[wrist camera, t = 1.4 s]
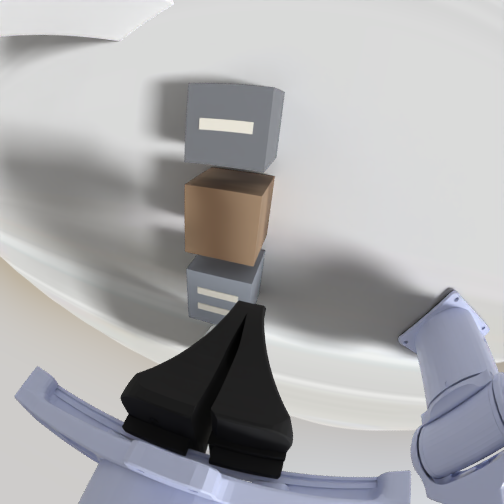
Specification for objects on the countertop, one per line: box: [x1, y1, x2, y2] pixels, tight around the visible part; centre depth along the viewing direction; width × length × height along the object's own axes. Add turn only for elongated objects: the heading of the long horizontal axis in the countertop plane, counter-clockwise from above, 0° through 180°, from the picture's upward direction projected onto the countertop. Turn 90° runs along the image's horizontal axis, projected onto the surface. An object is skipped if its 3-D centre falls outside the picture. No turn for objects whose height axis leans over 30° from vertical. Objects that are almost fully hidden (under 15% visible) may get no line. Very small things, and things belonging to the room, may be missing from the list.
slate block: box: [186, 250, 265, 325], centre depth 24 cm, size 5×5×5 cm
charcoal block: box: [184, 83, 285, 172], centre depth 17 cm, size 5×5×5 cm
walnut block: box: [185, 167, 275, 266], centre depth 20 cm, size 5×5×5 cm
